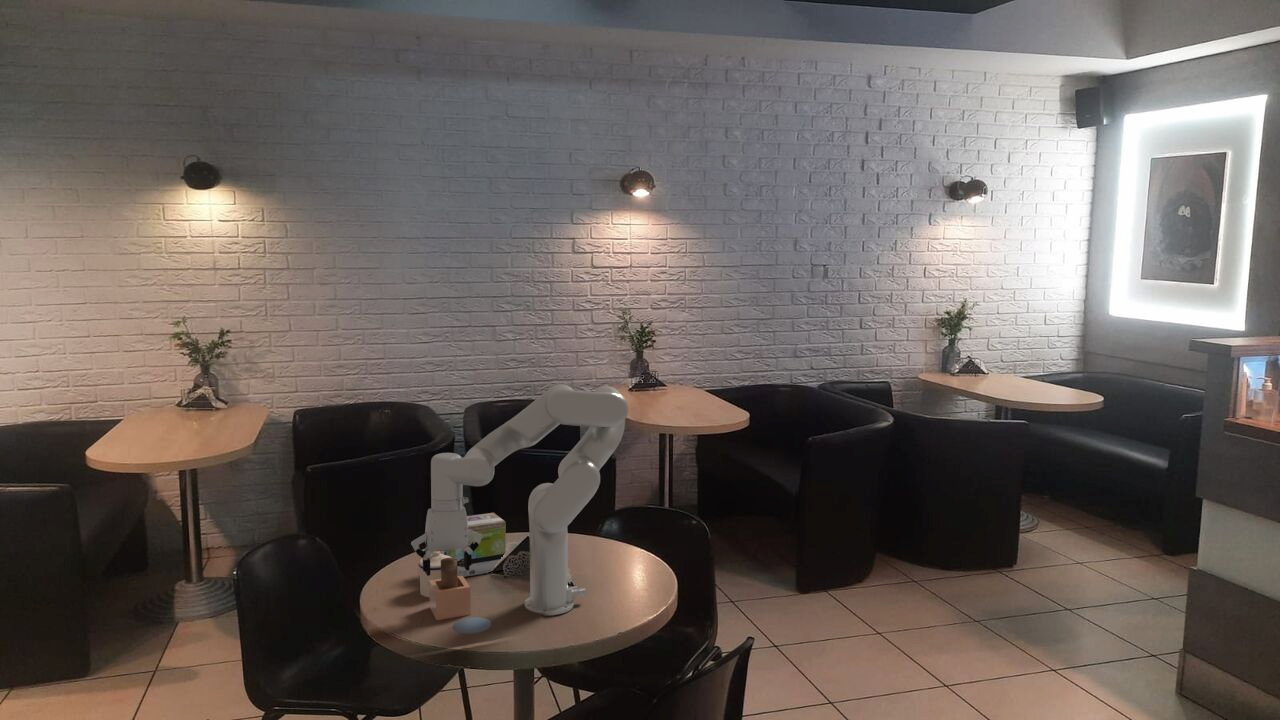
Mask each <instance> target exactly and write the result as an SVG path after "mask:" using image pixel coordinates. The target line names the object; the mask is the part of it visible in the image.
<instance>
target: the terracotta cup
mask: <svg viewBox="0 0 1280 720" xmlns="http://www.w3.org/2000/svg"><path fill="white" fill-rule="evenodd" d="M465 578H466V577H463V576H458V587H455V588H449V589H443V590H441V579H436V580H429V595H430V597H429V609H430V610H431V613H432V614H433V616H434V618H435V620H436V621H442V620H447V619H452V618H458V617H463V616H464V617H465V616H471V615H472V610H471V609H472V608H471V607H472V604H471V586H470V584H469V583H468V581H467V580H466V579H465Z"/></svg>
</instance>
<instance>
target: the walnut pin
mask: <svg viewBox="0 0 1280 720" xmlns="http://www.w3.org/2000/svg"><path fill="white" fill-rule="evenodd" d="M455 587H458V573H457V559H456V558H444V559H442V560H441V590H443V589H449V588H455Z"/></svg>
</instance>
